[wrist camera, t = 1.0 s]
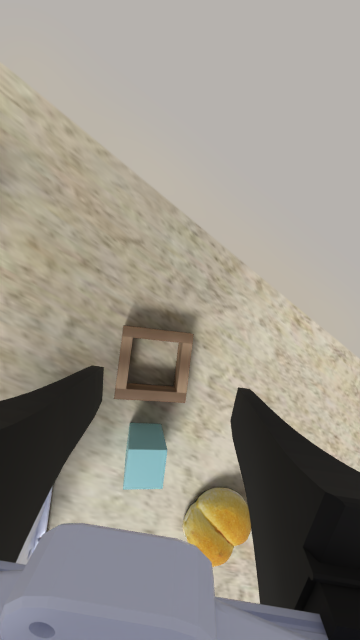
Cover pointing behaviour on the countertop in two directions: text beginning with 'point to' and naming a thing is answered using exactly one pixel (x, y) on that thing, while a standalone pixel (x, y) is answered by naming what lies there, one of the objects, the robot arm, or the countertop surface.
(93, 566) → the robot arm
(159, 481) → the light blue block
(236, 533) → the bread roll
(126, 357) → the well frame
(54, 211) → the countertop surface
